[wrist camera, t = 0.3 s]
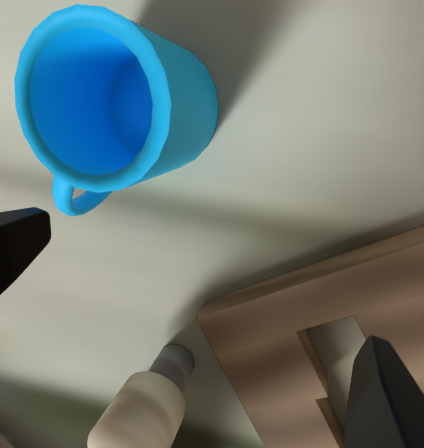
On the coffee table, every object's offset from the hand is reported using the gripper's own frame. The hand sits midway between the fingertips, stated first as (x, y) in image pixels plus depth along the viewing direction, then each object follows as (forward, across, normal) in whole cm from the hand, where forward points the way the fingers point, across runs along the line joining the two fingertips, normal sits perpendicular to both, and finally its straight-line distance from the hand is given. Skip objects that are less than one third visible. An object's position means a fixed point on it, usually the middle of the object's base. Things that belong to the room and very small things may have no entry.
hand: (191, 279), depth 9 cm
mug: (+15, +9, +2) cm, 18 cm away
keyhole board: (+13, -9, +14) cm, 21 cm away
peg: (+11, +3, +19) cm, 22 cm away
